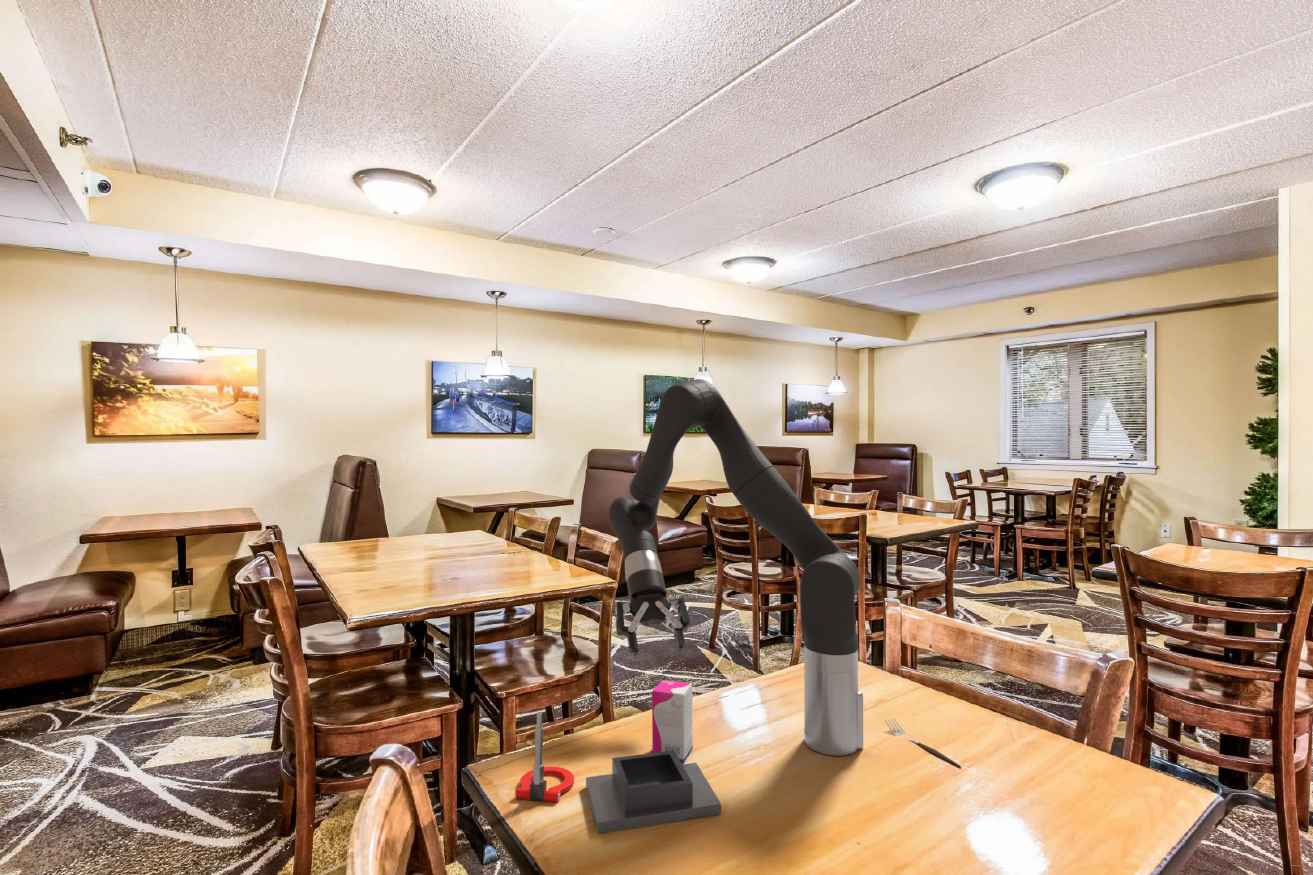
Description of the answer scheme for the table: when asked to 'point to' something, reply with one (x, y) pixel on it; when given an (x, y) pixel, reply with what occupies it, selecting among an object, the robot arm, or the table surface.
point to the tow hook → (538, 785)
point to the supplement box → (672, 718)
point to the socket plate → (649, 792)
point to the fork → (921, 744)
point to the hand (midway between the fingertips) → (658, 651)
